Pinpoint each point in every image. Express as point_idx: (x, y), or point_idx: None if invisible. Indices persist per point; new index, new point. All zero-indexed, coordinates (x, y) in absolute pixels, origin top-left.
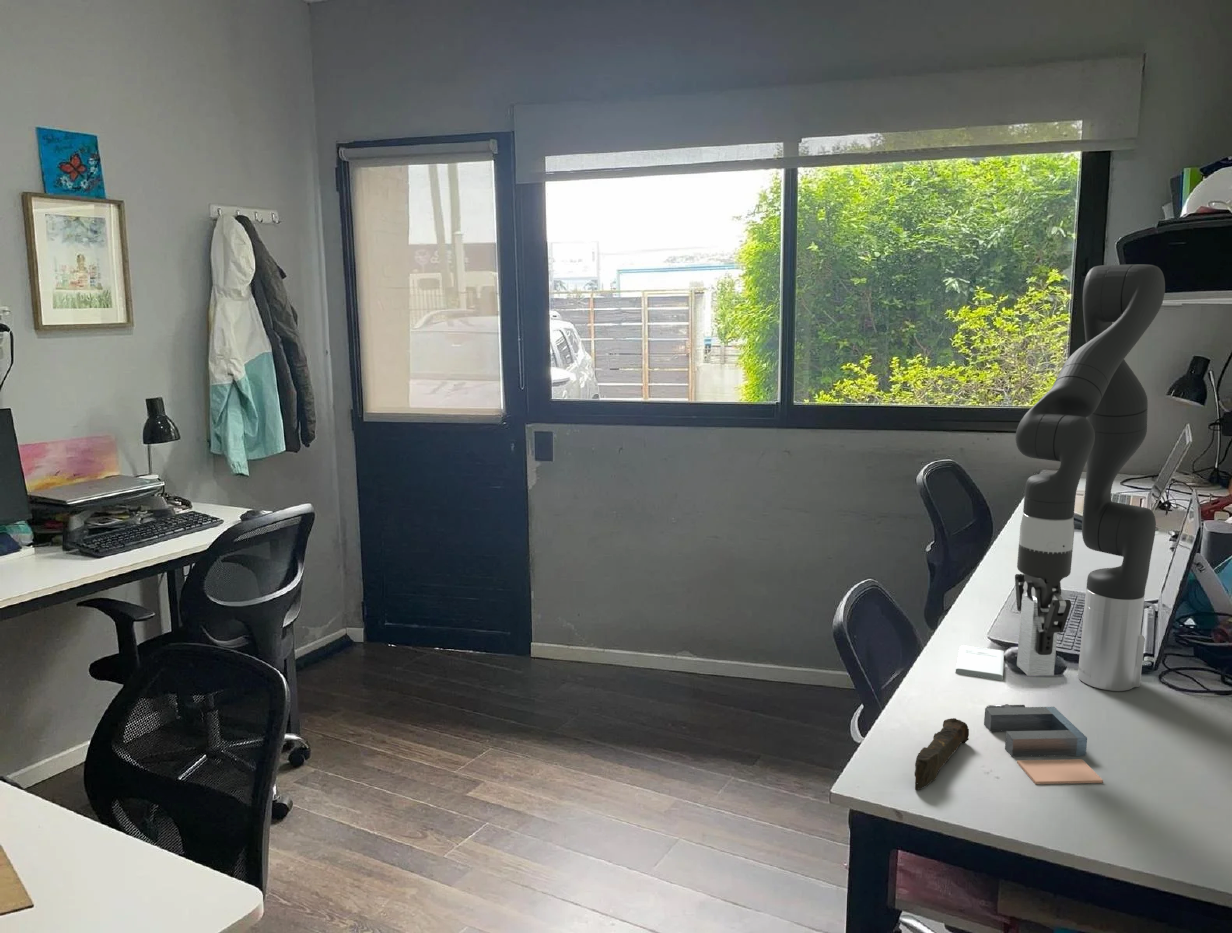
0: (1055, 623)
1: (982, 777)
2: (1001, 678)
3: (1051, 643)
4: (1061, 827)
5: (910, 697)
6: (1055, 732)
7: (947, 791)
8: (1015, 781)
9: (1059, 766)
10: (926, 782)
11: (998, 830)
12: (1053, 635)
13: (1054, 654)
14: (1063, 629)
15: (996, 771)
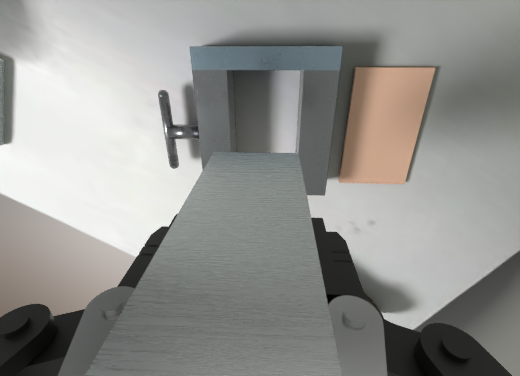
0: (385, 367)
1: (367, 239)
2: (1, 63)
3: (351, 267)
4: (514, 198)
5: (128, 244)
6: (310, 107)
7: (388, 285)
8: (388, 204)
9: (371, 124)
10: (375, 306)
11: (484, 268)
12: (336, 277)
13: (304, 190)
14: (495, 359)
15: (356, 217)
